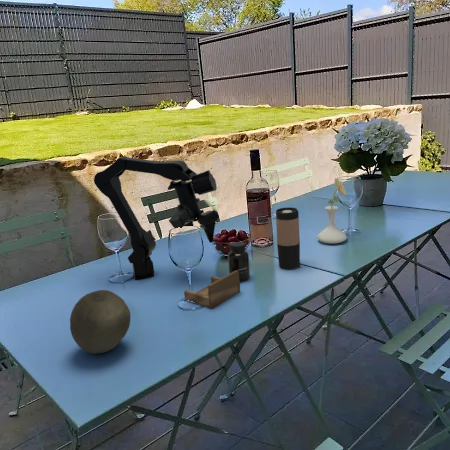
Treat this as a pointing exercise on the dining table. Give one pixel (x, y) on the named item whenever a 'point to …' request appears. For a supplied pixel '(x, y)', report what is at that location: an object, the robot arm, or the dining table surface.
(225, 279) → the holder
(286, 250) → the travel mug
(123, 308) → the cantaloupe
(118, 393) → the dining table surface
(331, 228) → the flower in vase
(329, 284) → the dining table surface
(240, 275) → the supplement bottle
